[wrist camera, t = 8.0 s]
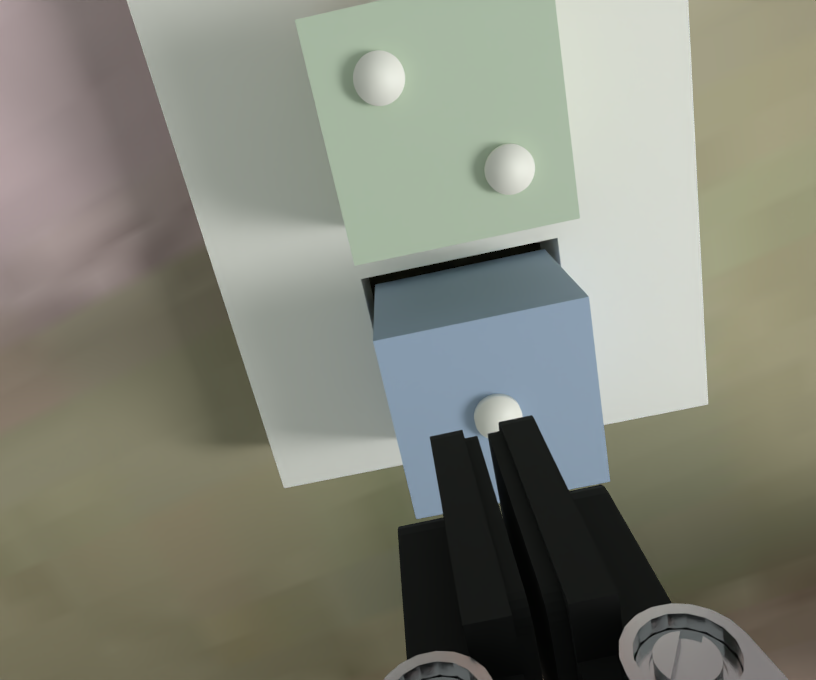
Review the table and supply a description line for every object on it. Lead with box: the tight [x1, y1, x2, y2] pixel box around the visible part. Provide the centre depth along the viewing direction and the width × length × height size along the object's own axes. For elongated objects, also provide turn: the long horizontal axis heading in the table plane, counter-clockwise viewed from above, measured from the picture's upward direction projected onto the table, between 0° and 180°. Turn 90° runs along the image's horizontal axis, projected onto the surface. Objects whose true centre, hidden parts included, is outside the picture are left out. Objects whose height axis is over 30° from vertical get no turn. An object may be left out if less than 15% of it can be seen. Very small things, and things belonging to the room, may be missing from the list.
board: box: [127, 0, 708, 488], centre depth 17 cm, size 18×12×2 cm, turn 12°
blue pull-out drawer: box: [373, 249, 610, 519], centre depth 16 cm, size 4×4×4 cm
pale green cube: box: [295, 0, 580, 266], centre depth 14 cm, size 4×4×4 cm
